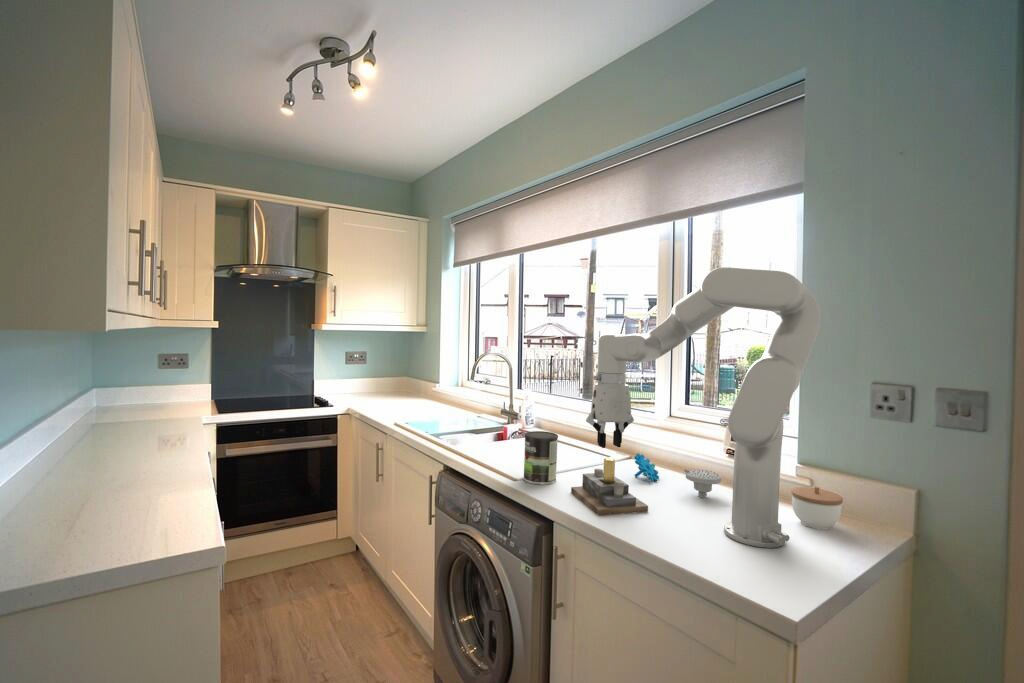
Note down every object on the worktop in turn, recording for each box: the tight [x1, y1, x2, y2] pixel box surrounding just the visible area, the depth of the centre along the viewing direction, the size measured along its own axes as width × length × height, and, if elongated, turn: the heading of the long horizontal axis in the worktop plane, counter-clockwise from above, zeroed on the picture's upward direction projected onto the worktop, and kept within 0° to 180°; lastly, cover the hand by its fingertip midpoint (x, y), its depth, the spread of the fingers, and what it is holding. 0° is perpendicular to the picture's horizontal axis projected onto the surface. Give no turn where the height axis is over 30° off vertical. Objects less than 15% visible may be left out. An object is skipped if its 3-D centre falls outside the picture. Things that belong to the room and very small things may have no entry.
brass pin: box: [602, 457, 616, 484], centre depth 133 cm, size 3×3×10 cm
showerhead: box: [683, 468, 722, 498], centre depth 140 cm, size 9×7×10 cm
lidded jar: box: [791, 486, 844, 530], centre depth 121 cm, size 11×11×9 cm
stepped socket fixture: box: [570, 468, 649, 516], centre depth 133 cm, size 18×14×7 cm
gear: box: [633, 453, 660, 482], centre depth 156 cm, size 11×6×10 cm
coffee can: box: [523, 430, 559, 486], centre depth 151 cm, size 10×10×14 cm
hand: (609, 445), depth 133 cm, fingers open, 3 cm apart
